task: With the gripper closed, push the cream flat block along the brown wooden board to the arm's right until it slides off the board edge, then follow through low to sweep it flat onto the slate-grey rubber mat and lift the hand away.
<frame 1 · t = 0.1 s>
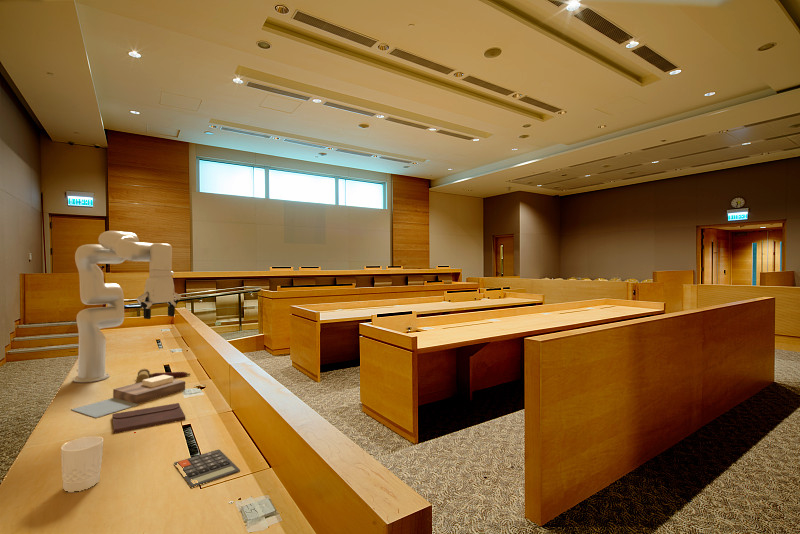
hand: (159, 317, 156), 31 cm above the table, tool pointing down, fingers open, 9 cm apart
calculator: (206, 469, 103), on the table
brown wooden board: (150, 393, 158), on the table
notebook: (148, 420, 133), on the table
white cup: (81, 485, 93), on the table
gavel: (164, 379, 178), on the table
cream flat block: (158, 383, 160), point 3 cm above the table, touching brown wooden board
mat: (105, 407, 142), on the table
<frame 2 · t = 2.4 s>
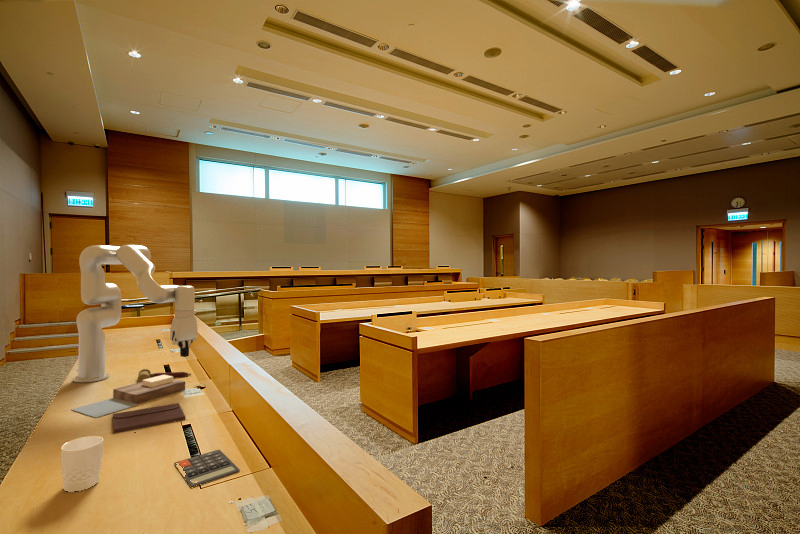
hand: (184, 356, 170), 12 cm above the table, tool pointing down, fingers closed
nothing on the table moved.
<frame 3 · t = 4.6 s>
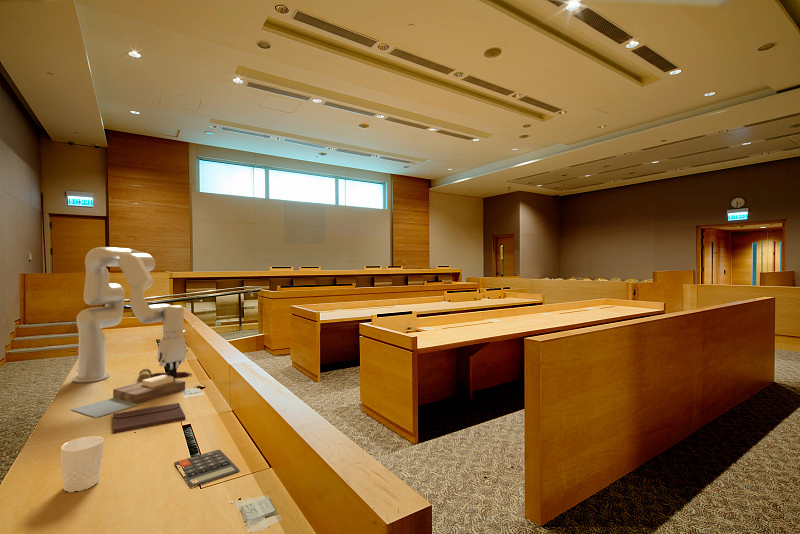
hand: (172, 377, 166), 4 cm above the table, tool pointing down, fingers closed
cream flat block: (157, 383, 160), point 4 cm above the table, touching gripper
everything else where it was.
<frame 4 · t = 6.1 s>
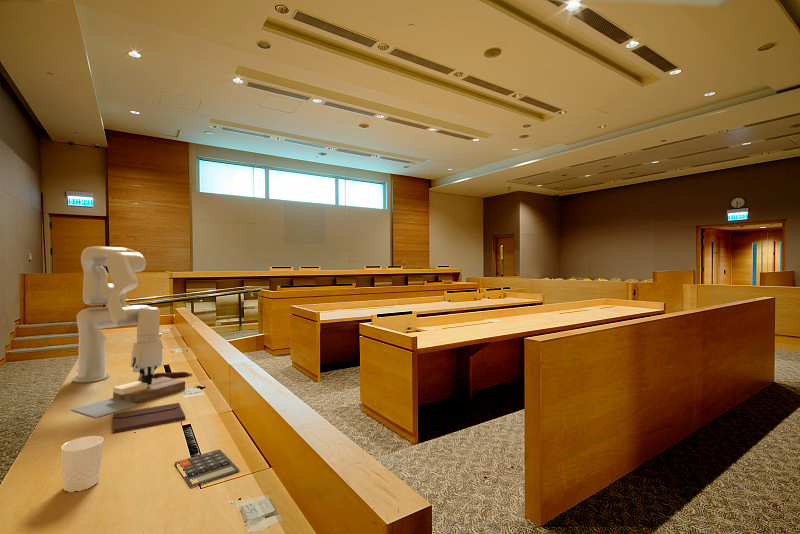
hand: (146, 384, 156), 4 cm above the table, tool pointing down, fingers closed
cream flat block: (130, 390, 151), point 4 cm above the table, touching gripper
everything else where it was.
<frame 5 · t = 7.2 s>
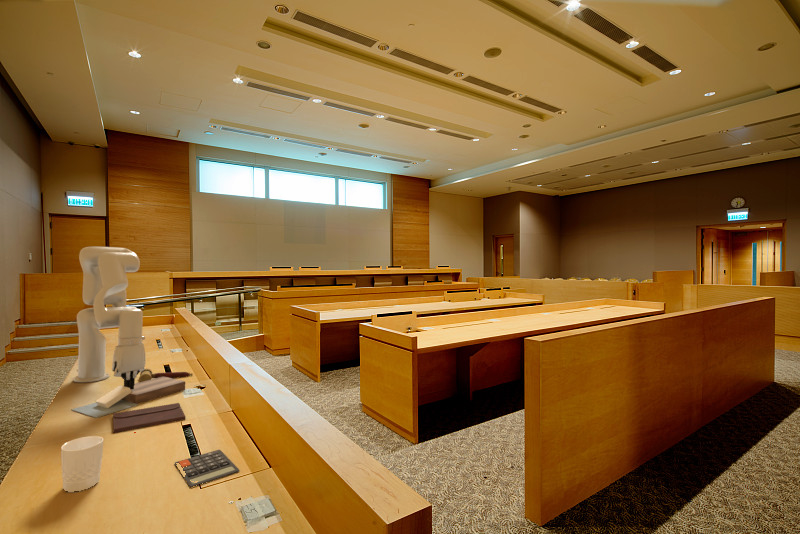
hand: (129, 388, 150), 4 cm above the table, tool pointing down, fingers closed
cream flat block: (114, 398, 145), point 2 cm above the table, tilted 23°, touching brown wooden board, gripper
everything else where it was.
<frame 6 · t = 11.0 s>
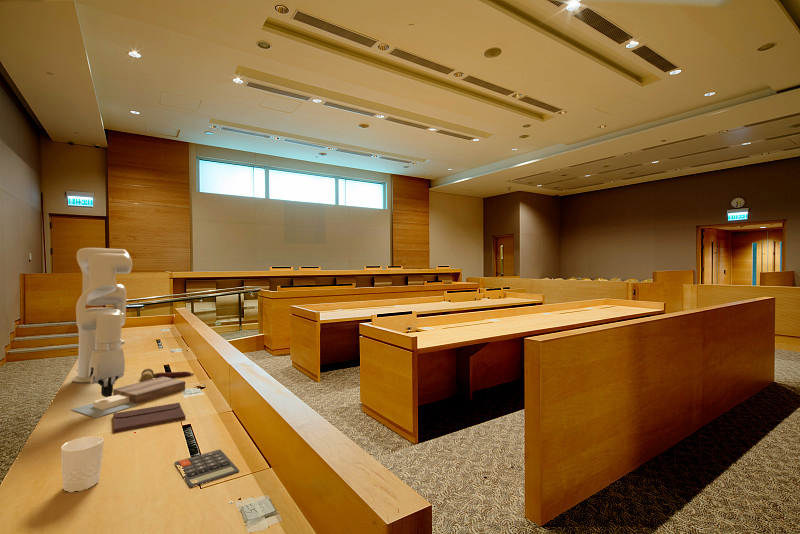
hand: (106, 395, 143), 4 cm above the table, tool pointing down, fingers closed
cream flat block: (111, 404, 144), resting on mat
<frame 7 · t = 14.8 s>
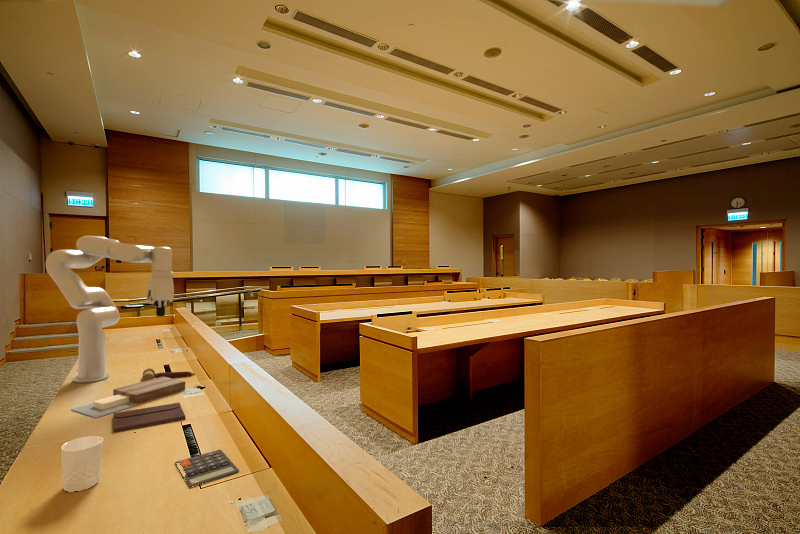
hand: (160, 315, 174), 29 cm above the table, tool pointing down, fingers closed
at the end: cream flat block resting on mat; cream flat block inside the target area on the mat (2.5 cm from its centre), point 0.3 cm above the mat's base; cream flat block touching mat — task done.
